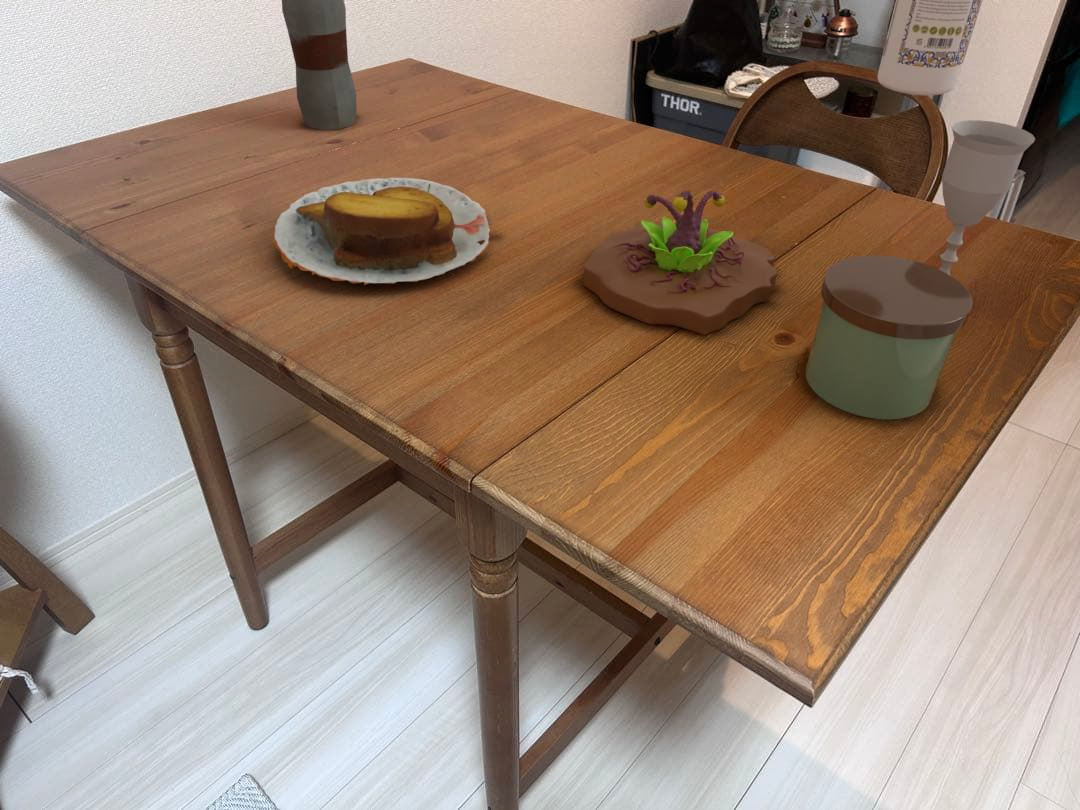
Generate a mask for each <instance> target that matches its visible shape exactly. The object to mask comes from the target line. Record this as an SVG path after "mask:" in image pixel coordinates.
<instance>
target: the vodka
mask: <svg viewBox="0 0 1080 810" xmlns="http://www.w3.org/2000/svg"><path fill="white" fill-rule="evenodd" d="M346 10H347V8H346V4H345V0H281V11H282V15H283V18H284V22H285V26H286V30H287V34H288V38H289V41H290V43H289V44H290V46H291V47H290V48H291V51H292V55H293V59H294V63H295V85H296V86H295V87H296V99H297V103H298V107H299V110H300V114H301V116H302V118H303V121H304V123H305V124H306V126H307V127H309V128H310V129H313V130H321V131H333V130H340V129H344V128H348V127H350V126H353V124H355V122H356V117H357V111H358V110H357V105H358V104H357V91H356V87H355V82H354V78H353V75H352V70H351V67H350V63H349V53H348V38H347V36H348V35H347V11H346Z"/></svg>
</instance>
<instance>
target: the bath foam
mask: <svg viewBox="0 0 1080 810" xmlns="http://www.w3.org/2000/svg"><path fill="white" fill-rule="evenodd" d="M982 3H983V0H895V3H894V8H893V11H892V15H891V19H890V23H889V26H888V31H887V34H886V38H885V41H884V42H885V43H884V46H883V51H882V56H881V60H880V64H879V67H878V72H877V81H878V83H879V84H880V85H881V86H882V87H883V88H886V89H888V90H891V91H894V92H896V93H901V94H906V95H913V96H939V95H944V94H947V93H950V92H952V91H953V90H954V89H955V87H956V86H957V82H958V79H959V77H960V73H961V70H962V67H963V64H964V61H965V58H966V55H967V51H968V48H969V45H970V42H971V39H972V35H973V32H974V29H975V26H976V22H977V19H978V16H979V13H980V9H981V8H982V7H981V6H982Z"/></svg>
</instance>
